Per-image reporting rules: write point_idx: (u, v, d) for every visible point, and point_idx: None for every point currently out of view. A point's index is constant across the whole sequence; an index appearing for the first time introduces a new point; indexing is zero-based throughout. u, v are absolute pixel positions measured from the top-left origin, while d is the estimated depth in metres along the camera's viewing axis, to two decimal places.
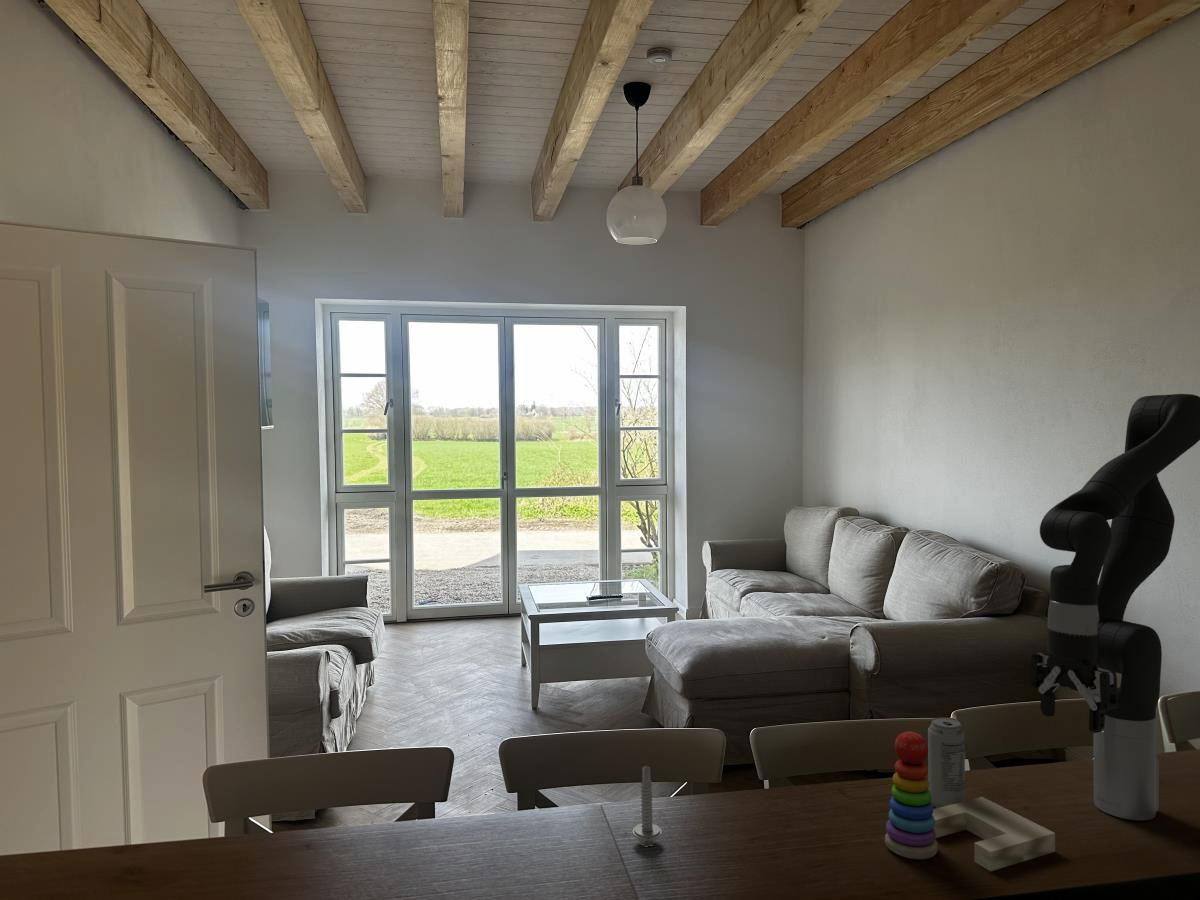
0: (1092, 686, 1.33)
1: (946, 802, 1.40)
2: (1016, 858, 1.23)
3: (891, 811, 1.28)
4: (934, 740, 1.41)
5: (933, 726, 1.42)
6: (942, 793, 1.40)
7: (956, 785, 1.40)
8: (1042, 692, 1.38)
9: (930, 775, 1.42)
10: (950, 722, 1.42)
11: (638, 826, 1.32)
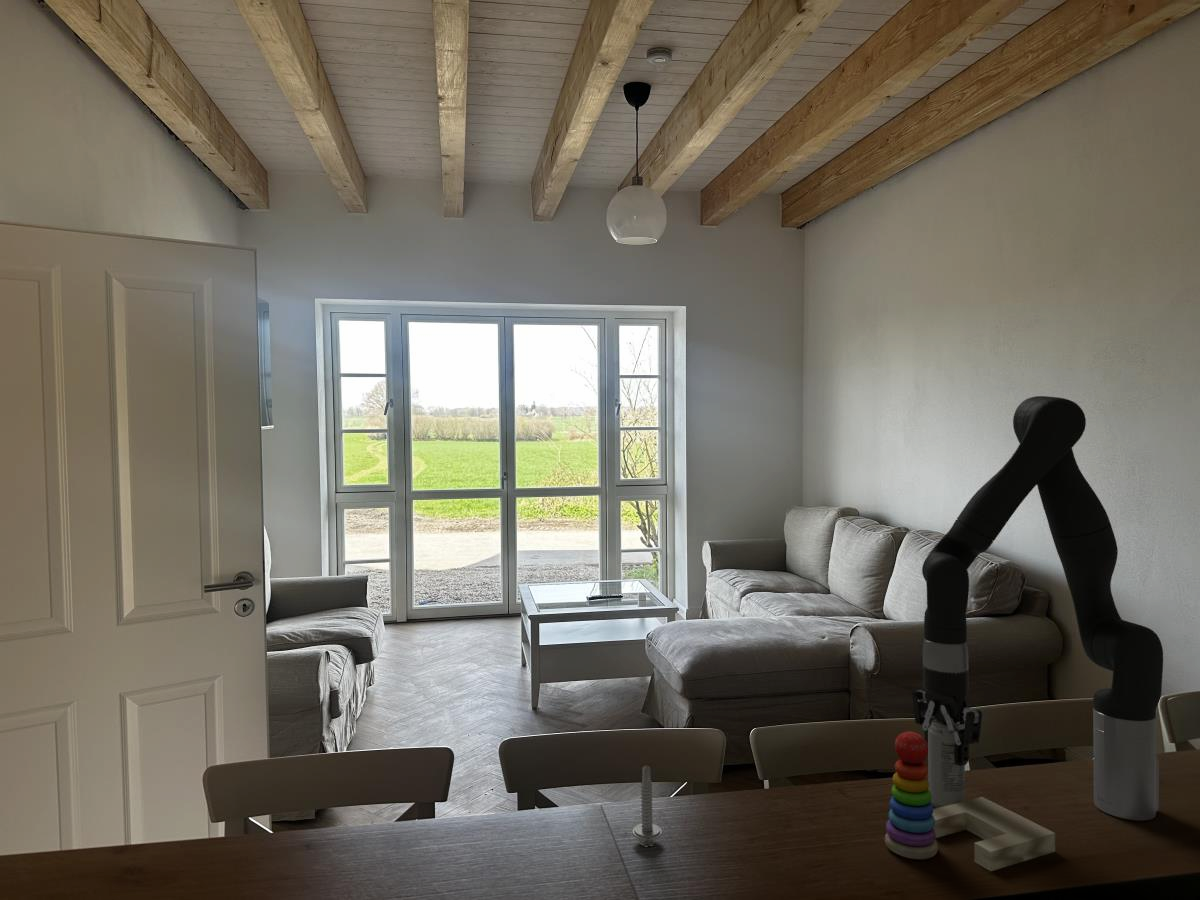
0: (961, 720, 1.41)
1: (946, 802, 1.40)
2: (1016, 858, 1.23)
3: (891, 811, 1.28)
4: (934, 740, 1.41)
5: (933, 726, 1.42)
6: (942, 793, 1.40)
7: (956, 785, 1.40)
8: (925, 729, 1.45)
9: (930, 775, 1.42)
10: None
11: (638, 826, 1.32)
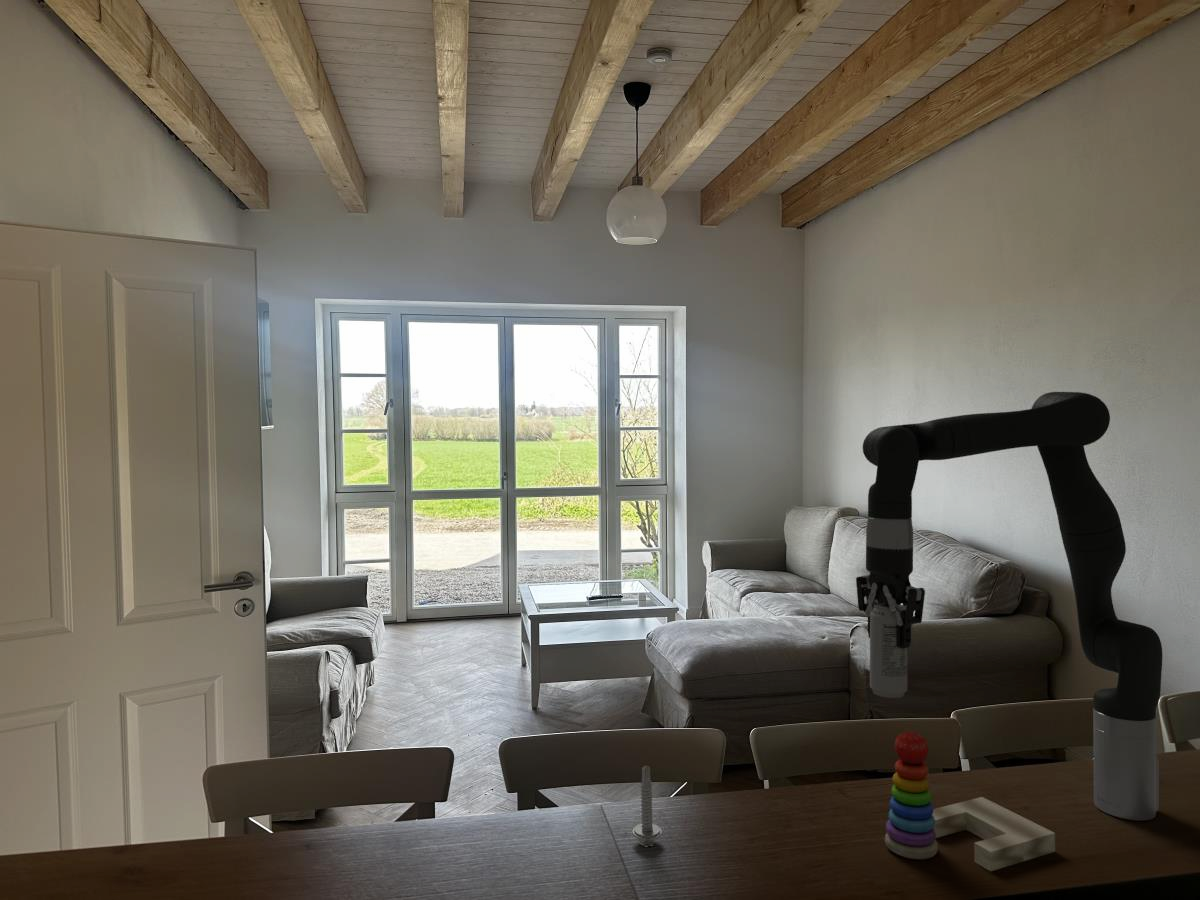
0: (904, 602, 1.33)
1: (886, 688, 1.32)
2: (1016, 858, 1.23)
3: (891, 811, 1.28)
4: (875, 623, 1.33)
5: (875, 609, 1.34)
6: (883, 678, 1.32)
7: (897, 669, 1.32)
8: (868, 615, 1.38)
9: (871, 661, 1.35)
10: None
11: (638, 826, 1.32)
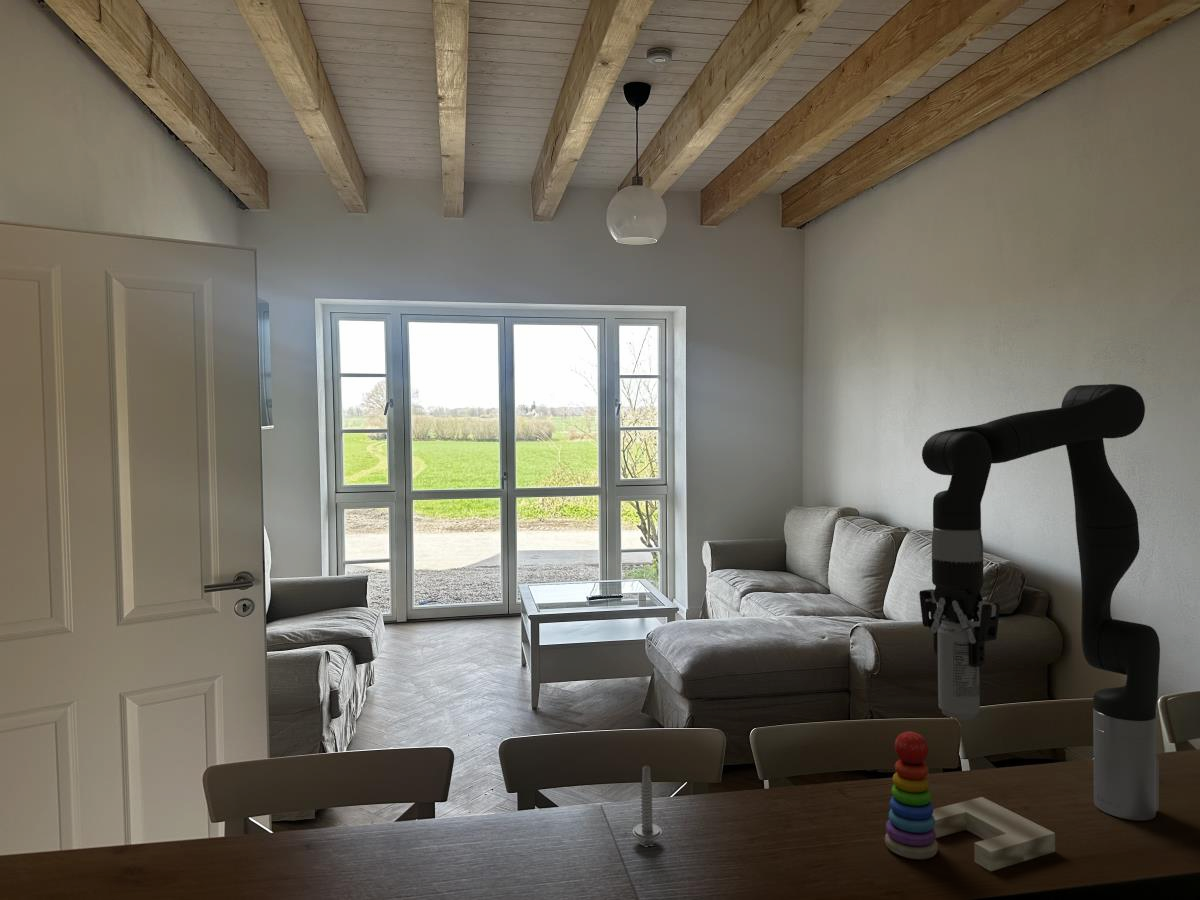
0: (975, 617, 1.25)
1: (959, 709, 1.24)
2: (1016, 858, 1.23)
3: (891, 811, 1.28)
4: (944, 641, 1.26)
5: (944, 626, 1.26)
6: (954, 699, 1.25)
7: (970, 689, 1.24)
8: (935, 631, 1.30)
9: (940, 680, 1.27)
10: None
11: (638, 826, 1.32)
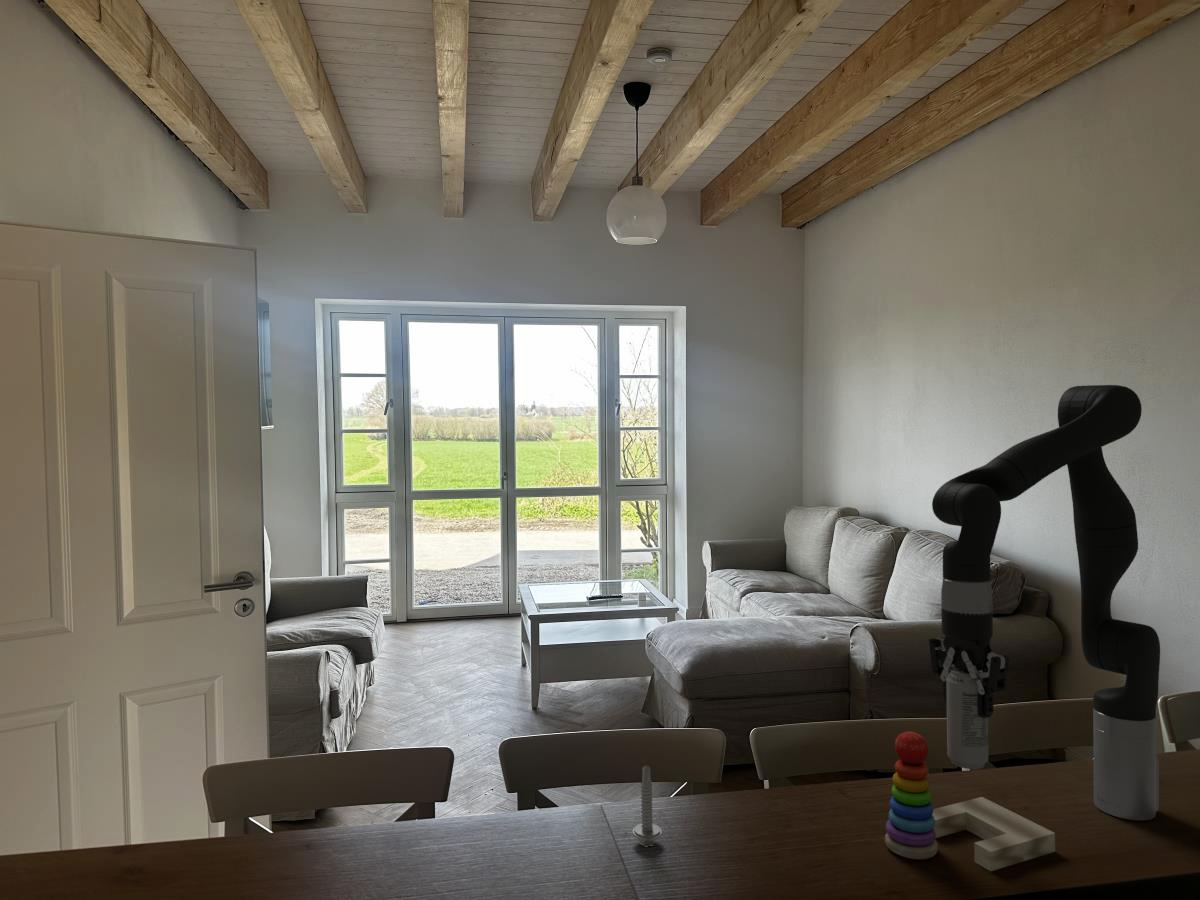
0: (984, 668, 1.26)
1: (967, 759, 1.26)
2: (1016, 858, 1.23)
3: (891, 811, 1.28)
4: (953, 690, 1.27)
5: (953, 675, 1.28)
6: (963, 749, 1.26)
7: (979, 739, 1.25)
8: (944, 679, 1.31)
9: (949, 729, 1.28)
10: None
11: (638, 826, 1.32)
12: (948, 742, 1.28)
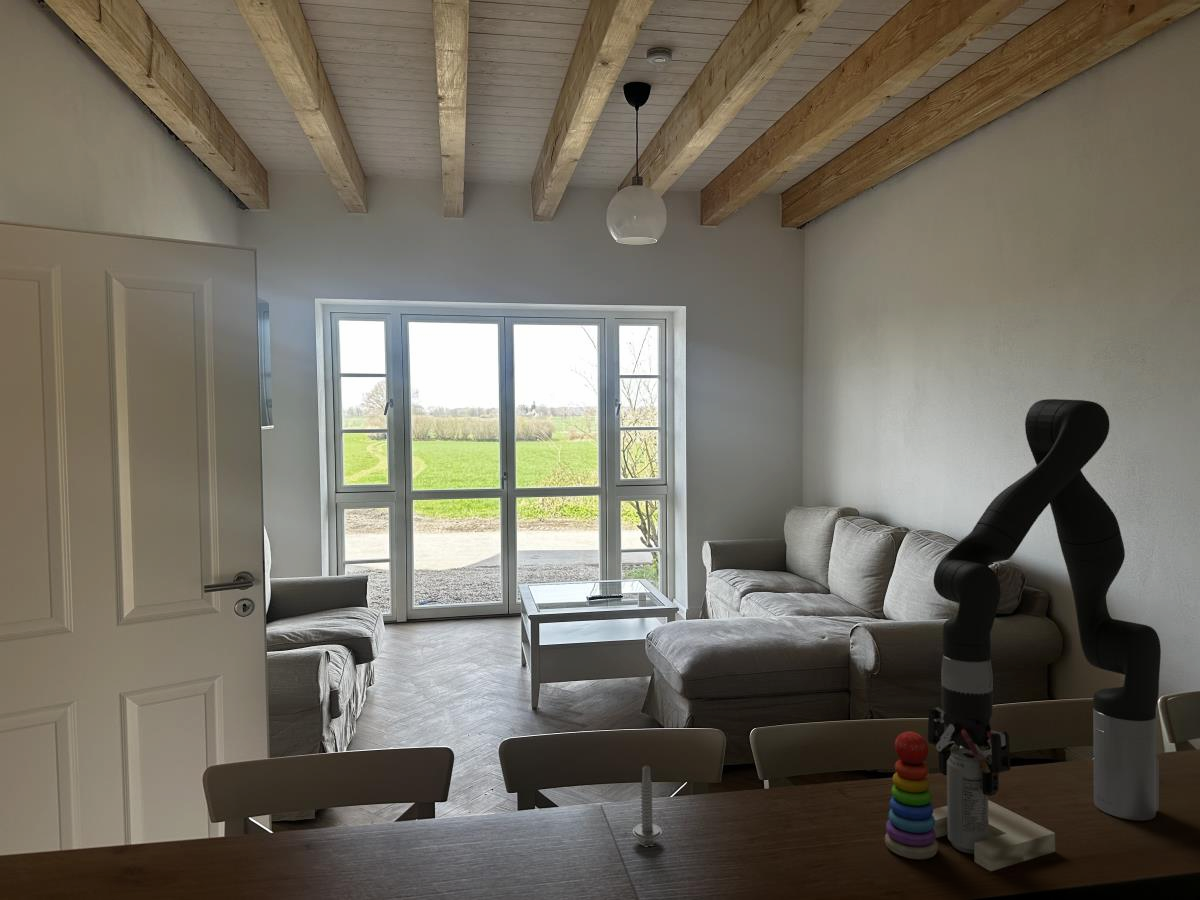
0: (987, 745, 1.26)
1: (967, 844, 1.26)
2: (1016, 858, 1.23)
3: (891, 811, 1.28)
4: (954, 775, 1.27)
5: (953, 759, 1.28)
6: (963, 833, 1.26)
7: (979, 824, 1.26)
8: (939, 750, 1.32)
9: (949, 813, 1.28)
10: (971, 754, 1.28)
11: (638, 826, 1.32)
12: (948, 825, 1.29)
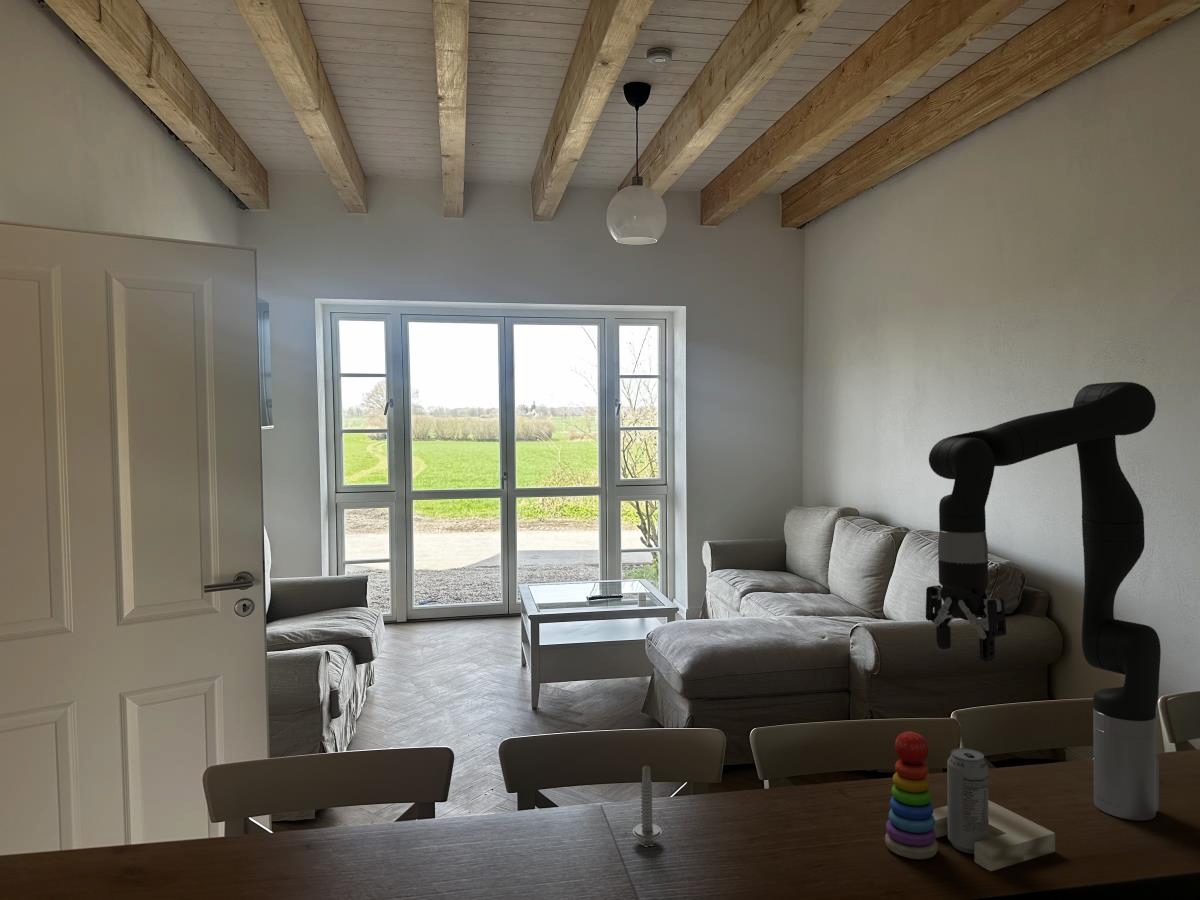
0: (983, 615, 1.30)
1: (968, 844, 1.26)
2: (1016, 858, 1.23)
3: (891, 811, 1.28)
4: (954, 775, 1.27)
5: (953, 759, 1.28)
6: (963, 833, 1.26)
7: (979, 824, 1.25)
8: (937, 625, 1.36)
9: (950, 812, 1.28)
10: (972, 754, 1.28)
11: (638, 826, 1.32)
12: (948, 825, 1.29)
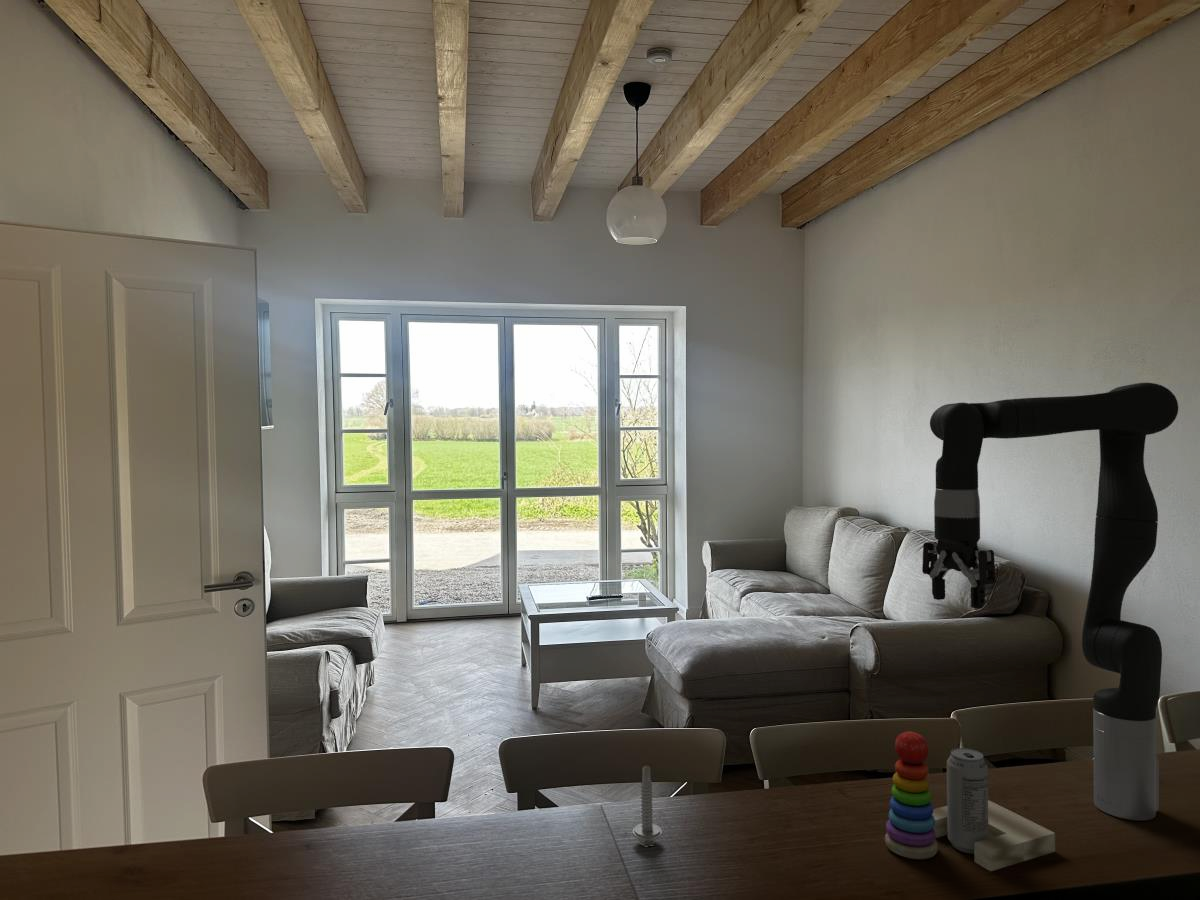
0: (974, 566, 1.41)
1: (967, 844, 1.26)
2: (1016, 858, 1.23)
3: (891, 811, 1.28)
4: (954, 774, 1.27)
5: (953, 759, 1.28)
6: (963, 833, 1.26)
7: (979, 824, 1.26)
8: (932, 577, 1.47)
9: (949, 813, 1.28)
10: (971, 754, 1.28)
11: (638, 826, 1.32)
12: (948, 825, 1.29)
